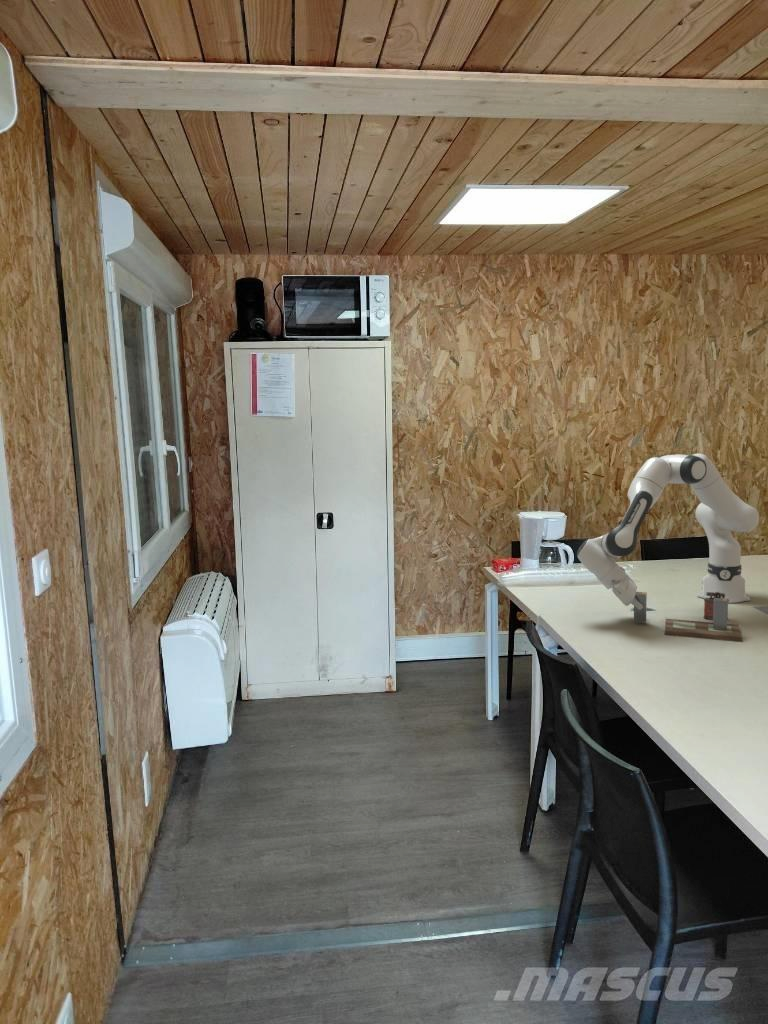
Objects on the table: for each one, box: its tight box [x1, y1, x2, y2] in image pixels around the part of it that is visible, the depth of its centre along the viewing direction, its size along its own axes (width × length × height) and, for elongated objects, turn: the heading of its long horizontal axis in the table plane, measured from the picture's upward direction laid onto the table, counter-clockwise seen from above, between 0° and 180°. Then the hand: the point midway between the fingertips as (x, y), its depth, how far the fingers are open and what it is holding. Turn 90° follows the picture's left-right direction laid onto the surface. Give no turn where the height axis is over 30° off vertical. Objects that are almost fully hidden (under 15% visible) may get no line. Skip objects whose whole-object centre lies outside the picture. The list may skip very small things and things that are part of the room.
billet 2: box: [712, 598, 729, 631], centre depth 222 cm, size 4×4×10 cm
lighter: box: [703, 592, 729, 621], centre depth 238 cm, size 8×3×10 cm, turn 74°
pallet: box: [664, 618, 743, 642], centre depth 225 cm, size 14×23×2 cm, turn 66°
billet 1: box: [633, 591, 648, 624], centre depth 236 cm, size 4×4×10 cm
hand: (642, 606), depth 235 cm, fingers closed on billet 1, 4 cm apart
